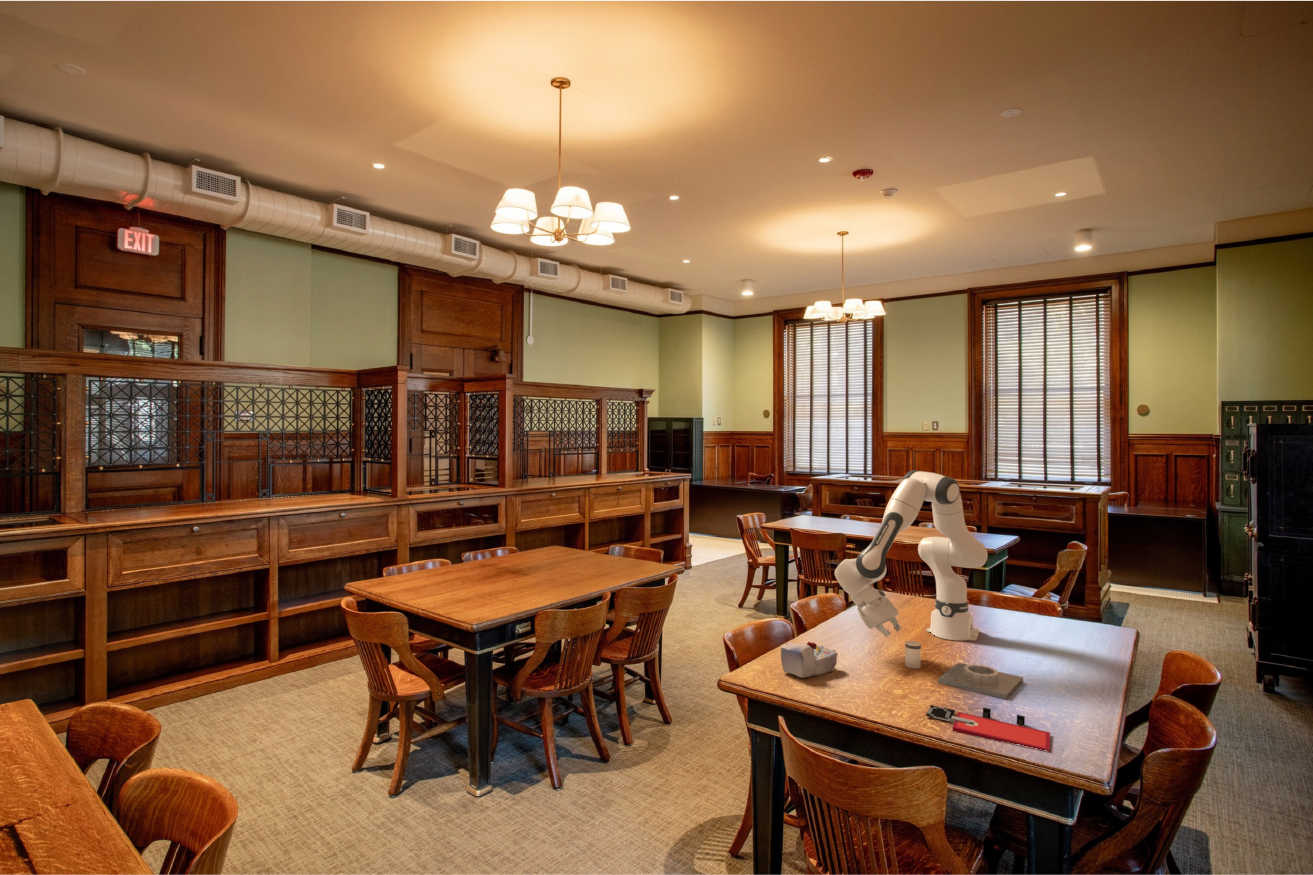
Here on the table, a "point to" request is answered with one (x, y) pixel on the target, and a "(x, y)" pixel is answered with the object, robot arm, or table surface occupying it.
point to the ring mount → (981, 680)
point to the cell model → (807, 659)
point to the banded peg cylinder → (913, 654)
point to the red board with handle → (993, 728)
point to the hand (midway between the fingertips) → (894, 632)
